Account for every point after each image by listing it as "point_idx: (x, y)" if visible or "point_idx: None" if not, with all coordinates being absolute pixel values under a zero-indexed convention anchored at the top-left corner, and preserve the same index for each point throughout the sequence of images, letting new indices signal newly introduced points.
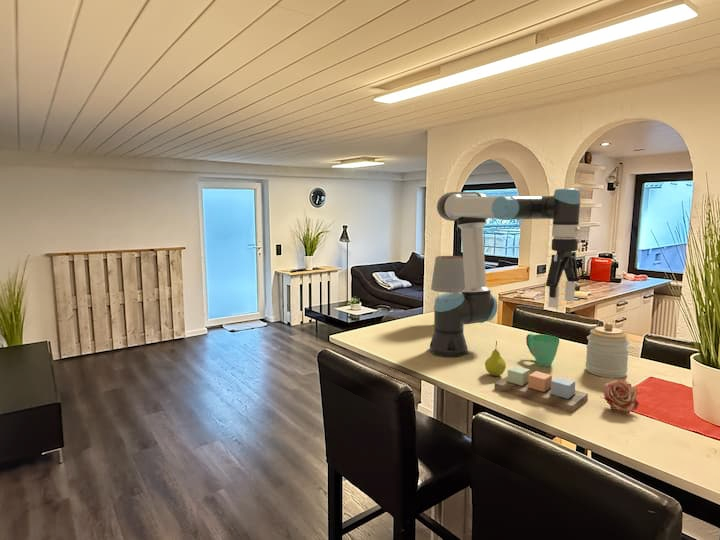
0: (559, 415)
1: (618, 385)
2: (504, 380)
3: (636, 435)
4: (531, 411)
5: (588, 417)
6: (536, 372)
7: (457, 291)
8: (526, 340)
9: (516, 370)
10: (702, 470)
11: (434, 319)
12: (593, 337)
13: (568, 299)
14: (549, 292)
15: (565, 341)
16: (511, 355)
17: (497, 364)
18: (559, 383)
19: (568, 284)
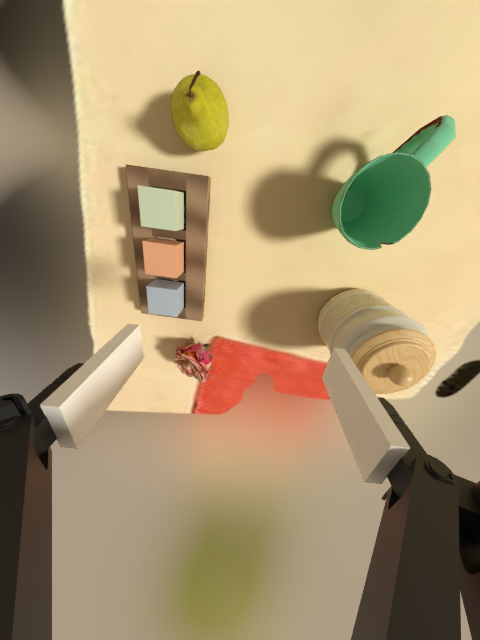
0: (124, 297)
1: (188, 370)
2: (155, 178)
3: (144, 369)
4: (104, 262)
5: (148, 326)
6: (168, 249)
7: None
8: (430, 122)
9: (147, 206)
10: (123, 406)
11: None
12: (364, 335)
13: (330, 366)
14: (77, 374)
15: None
16: (395, 89)
17: (178, 131)
18: (147, 299)
19: (369, 436)
